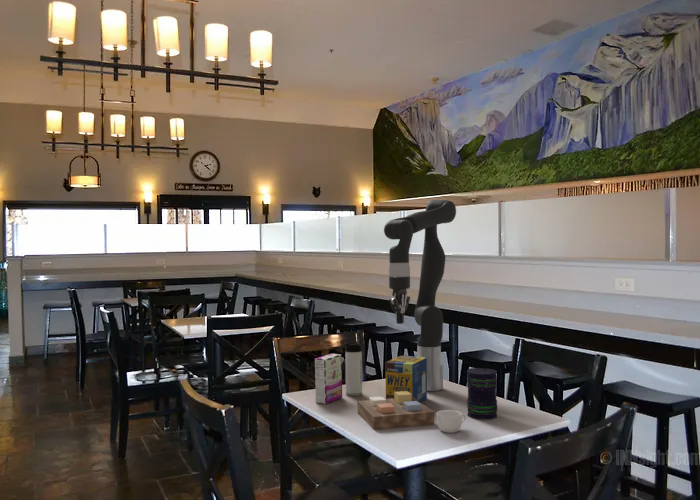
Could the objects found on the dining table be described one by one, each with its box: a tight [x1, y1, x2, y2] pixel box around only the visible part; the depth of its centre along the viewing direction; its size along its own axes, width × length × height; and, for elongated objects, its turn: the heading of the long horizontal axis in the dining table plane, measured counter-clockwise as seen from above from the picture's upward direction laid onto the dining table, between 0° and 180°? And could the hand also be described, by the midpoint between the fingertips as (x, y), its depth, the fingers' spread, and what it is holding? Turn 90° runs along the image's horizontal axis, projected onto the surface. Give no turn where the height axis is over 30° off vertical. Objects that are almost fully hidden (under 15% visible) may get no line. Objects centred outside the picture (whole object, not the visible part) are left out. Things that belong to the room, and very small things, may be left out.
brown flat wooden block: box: [356, 397, 435, 431], centre depth 199 cm, size 20×20×4 cm
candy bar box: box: [314, 353, 343, 405], centre depth 223 cm, size 11×5×16 cm, turn 148°
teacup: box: [436, 409, 466, 434], centre depth 185 cm, size 10×8×5 cm
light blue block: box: [403, 401, 421, 411], centre depth 195 cm, size 5×5×4 cm
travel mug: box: [344, 342, 363, 397], centre depth 231 cm, size 6×7×20 cm
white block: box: [368, 396, 386, 406], centre depth 202 cm, size 5×5×4 cm
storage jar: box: [466, 367, 498, 421], centre depth 201 cm, size 10×10×15 cm
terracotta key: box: [377, 403, 395, 414], centre depth 193 cm, size 5×5×4 cm
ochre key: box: [394, 391, 412, 404], centre depth 204 cm, size 5×5×4 cm
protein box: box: [385, 354, 428, 403], centre depth 220 cm, size 10×15×16 cm
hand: (400, 323), depth 217 cm, fingers closed
